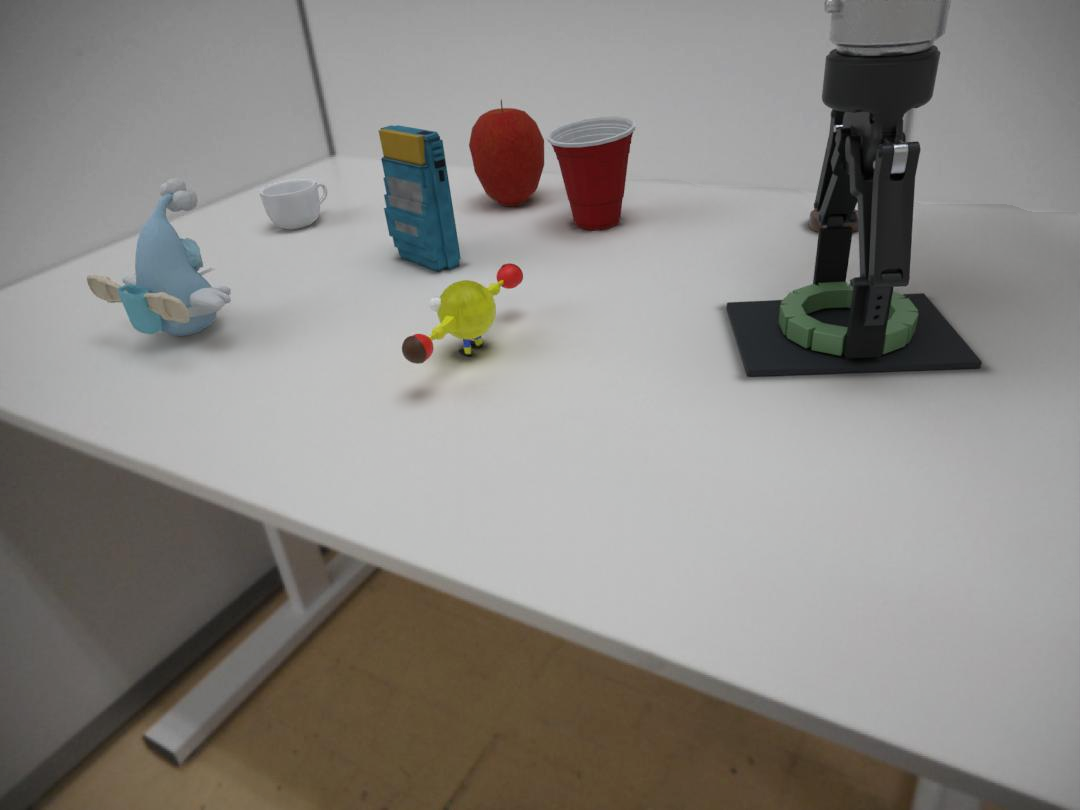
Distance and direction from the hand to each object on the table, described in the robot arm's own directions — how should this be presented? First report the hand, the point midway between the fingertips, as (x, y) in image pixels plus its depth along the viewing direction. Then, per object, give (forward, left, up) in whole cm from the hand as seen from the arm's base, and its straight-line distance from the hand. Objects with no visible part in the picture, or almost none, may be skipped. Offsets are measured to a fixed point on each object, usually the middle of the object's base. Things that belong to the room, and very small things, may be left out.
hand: (843, 323), depth 65 cm
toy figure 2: (+33, 0, -1) cm, 33 cm away
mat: (0, 0, -1) cm, 1 cm away
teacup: (+64, -41, -1) cm, 76 cm away
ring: (0, 0, 0) cm, 0 cm away
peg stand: (-6, -27, -1) cm, 28 cm away
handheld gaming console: (+42, -23, -1) cm, 48 cm away
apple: (+34, -44, -1) cm, 56 cm away
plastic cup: (+22, -33, -1) cm, 40 cm away
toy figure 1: (+64, -7, -1) cm, 64 cm away
